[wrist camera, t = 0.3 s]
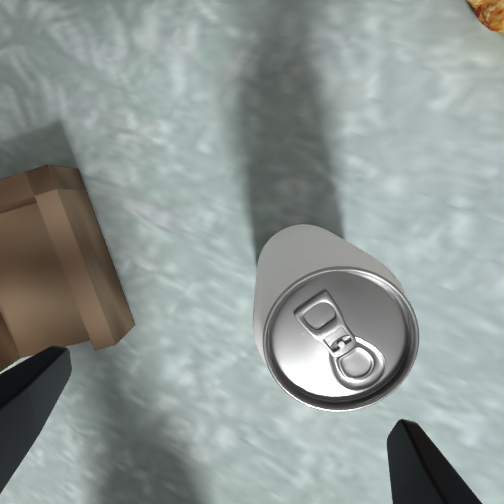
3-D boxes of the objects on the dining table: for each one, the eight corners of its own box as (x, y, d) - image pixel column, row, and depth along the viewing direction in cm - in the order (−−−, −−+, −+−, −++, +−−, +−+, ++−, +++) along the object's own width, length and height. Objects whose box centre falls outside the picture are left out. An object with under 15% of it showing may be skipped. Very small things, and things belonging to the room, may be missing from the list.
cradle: (134, 325, 25) (115, 344, 22) (10, 357, 26) (-27, 381, 22) (78, 168, 23) (47, 164, 20) (-55, 209, 24) (-105, 212, 20)
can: (292, 326, 24) (319, 452, 13) (239, 259, 24) (214, 325, 12) (364, 276, 23) (467, 359, 12) (312, 204, 23) (364, 216, 11)
